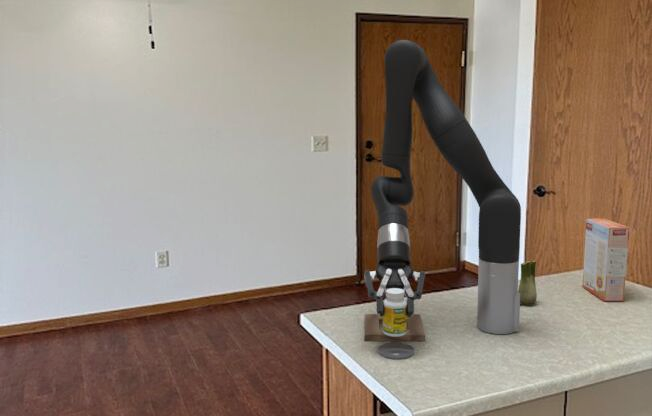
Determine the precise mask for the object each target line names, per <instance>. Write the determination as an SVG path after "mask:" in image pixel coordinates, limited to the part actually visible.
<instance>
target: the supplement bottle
mask: <svg viewBox="0 0 652 416" xmlns="http://www.w3.org/2000/svg"><path fill="white" fill-rule="evenodd" d="M382 329H383V333H384V334H386V335H388V336H393V337H398V336H403V335H405V334H406V332H407V329H408V327H407V299H406V298H405V294H404V290H403V289H399V288H390V289H388V288H387V290H386V292H385V298H384V299H383V325H382Z"/></svg>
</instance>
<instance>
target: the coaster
mask: <svg viewBox="0 0 652 416" xmlns="http://www.w3.org/2000/svg"><path fill="white" fill-rule="evenodd" d="M377 353H378V355H380V356H381V357H383V358H385V359H390V360H405V359H409V358H411V357H413V356H414V355H415V348H414V346H413V345H410V344H409V343H405V342H402V341H388V342H386V343H385V342H384V343H382V344H380V345H379V346H378V347H377Z"/></svg>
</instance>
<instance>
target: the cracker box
mask: <svg viewBox="0 0 652 416" xmlns="http://www.w3.org/2000/svg"><path fill="white" fill-rule="evenodd" d="M585 223H586V225H585V238H584V239H585V240H584V242H585V243H584V255H583V272H582V273H583V274H582V284H581V285H582V288H583V289H585V290H587V292H590V293H591V294H592V295H594V296H595V297H597V298H598V299H600V300H601V301H603V302H624V300H625V293H626V292H625V289H626V288H625V287H626V280H627V279H626V278H627V277H626V275H627V266H628V265H627V262H628V253H629V251H628V249H629V240H630V227H629V226H628V225H624V224H621V223H618V222H616V221H613V220H610V219H608V218H603V217H602V218H601V217H600V218H599V217H598V218H586V222H585Z"/></svg>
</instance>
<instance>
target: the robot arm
mask: <svg viewBox="0 0 652 416" xmlns="http://www.w3.org/2000/svg"><path fill="white" fill-rule="evenodd" d="M383 61H384V62H383V63H384V77H385V79H384V80H385V113H384V114H385V116H384V117H385V118H384V125H383V126H384V127H383V135H382V136H383V138H382V148H381V155H380V156H381V164H382V165H383V166H384V167H385V168H386V167H387V168H391V169H394V170H396V171H398V172H399V176H398V177H397V176H387V175H386V176H385V175H380V176H377V177H375V178H374V179H373V181H372V182H371V185H370V196H371V199H372V202H373V204H374V207H375V210H376V213H377V214H376V215H377V219H378V221H377V222H378V225H377V226H378V227H377V228H378V229H377V230H378V233H377V241H376V242H377V245H376V250H377V267H376V269H375V270H373V271H371V270H369V269H366V270H364V273H363V274H364V275H363V276H364V277H363V279H364V282H365V287H366V292H367V295H368V298H369V299H374V300H376V314H380V316H383V301H384V296H385V295H386V290H387V289H390V288H399V289H403V290H404V296H405V297H406V301H407V317H411V314H415V301H416V300H418V301H419V300H421V298H422V296H423V295H422V294H423V291H424V290H423V289H424V283H425V277H426V272H425V270H420V271H419V272H418V271H414V268H412V264H411V263H412V262H411V261H412V260H411V239H410V234H409V221H408V219H409V217H408V216H409V215H408V213H407V210H405V208H403V207H407V206H408V205H410V204H411V203H412V201H413V199H414V195H415V191H414V184H413V180H412V179H413V178H412V175H411V174H412V173H411V155H412V154H411V153H412V143H413V142H412V141H413V117H412V116H413V113H412V106H413V104H412V103H413V101H414V102H415V103H416V105H417V107H418V110H419V112H420V115H421V117H422V120H423V122H424V126H425V129H426V130H427V133H428V135H429V137H430V138H431V140H432V141H433V143H434V145H435V146H436V148H437V149H438V151H439V152H440V154H441V156H442V157H443V158H444V159H445V161H446V162H447V163H448V165H450V167H451V168H452V169H453V170H454V171H455V172H456V173H457V174H458V176H459V177H460V178H461V179H462V180H463V181H464V182H465V183H466V185H467V186H468V188H469V190H470V192H471V194H472V195H473V197H474V199H475V201H476V203H477V205H478V207H479V212H478V243H477V244H478V245H477V247H478V274H477V275H478V279H477V304H476V305H477V308H476V309H477V310H476V311H477V314H476V327H477V329H479V330H480V331H483V332H485V333H488V334H494V335H508V334H512V333H519V332H520V313H521V312H520V308H521V306H520V305H521V304H520V293H519V292H518V290H519V271H520V270H519V268H520V267H519V265H520V262H519V261H520V249H521V248H520V247H521V244H520V243H521V220H522V219H521V218H522V208H521V207H522V206H521V203H520V200H519V199H518V198H517V196H516V195H515V194H514V193H513V192H512V190H510V188H509V187H508V186H507V184H506V183H505V182H504V181H503V179H502V178H501V177H500V175H499V174H498V173H497V171H496V170H495V168H494V166H493V165H492V163H491V161H490V159H489V157H488V155H487V153H486V150H485V149H484V147H483V145H482V142H481V141H480V139H479V137H478V136H477V134H476V131H475V130H474V129H473V128H472V126H471V125H470V123H469V121H468V120H467V118H466V116H465V115H464V113H462V110H461V109H460V108H459V106H458V105H457V104H456V103H455V101H454V100H453V98H452V97H451V96H450V95H449V93H448V92H447V91H446V90H445V89H444V87H443V85H442V83H441V82H440V80H439V78H438V77H437V74H436V73H435V71H434V69H433V67H432V65H431V62H430V60H429V59H428V56H427V54H426V51H425V50H424V49H423V48H422V47H421V46H420V45H419V44H417V43H416V42H414V41H411V40H408V39H400V40H396V41H394V42H392V43H391V44H390V45H389V46H388V48H387V49H386V51H385V54H384V60H383ZM375 277H376V278H377V279H378V281H380V284H379V287H378V290H377V291H376V290H375V289H374V286H373V282H374V280H375ZM412 278H414V281H415V282H416V283H417V287H416V291H413V289H412V287H411V283H410V281H411V280H412Z"/></svg>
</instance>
